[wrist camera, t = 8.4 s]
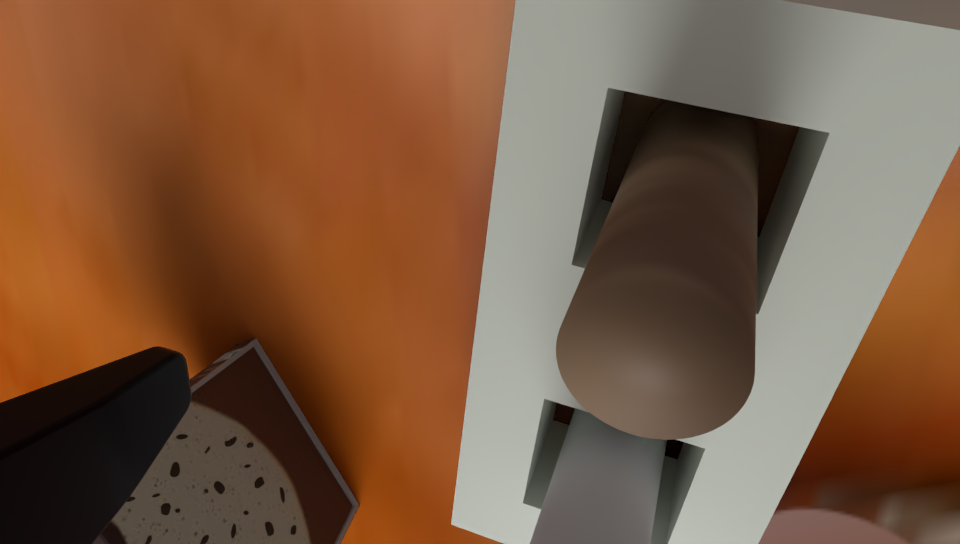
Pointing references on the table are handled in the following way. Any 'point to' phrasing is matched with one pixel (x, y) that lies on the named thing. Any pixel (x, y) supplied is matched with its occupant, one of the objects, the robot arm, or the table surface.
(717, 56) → the hole block
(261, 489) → the food container
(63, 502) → the robot arm
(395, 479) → the table surface
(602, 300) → the walnut peg
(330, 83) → the table surface
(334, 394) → the table surface
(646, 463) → the grey peg
